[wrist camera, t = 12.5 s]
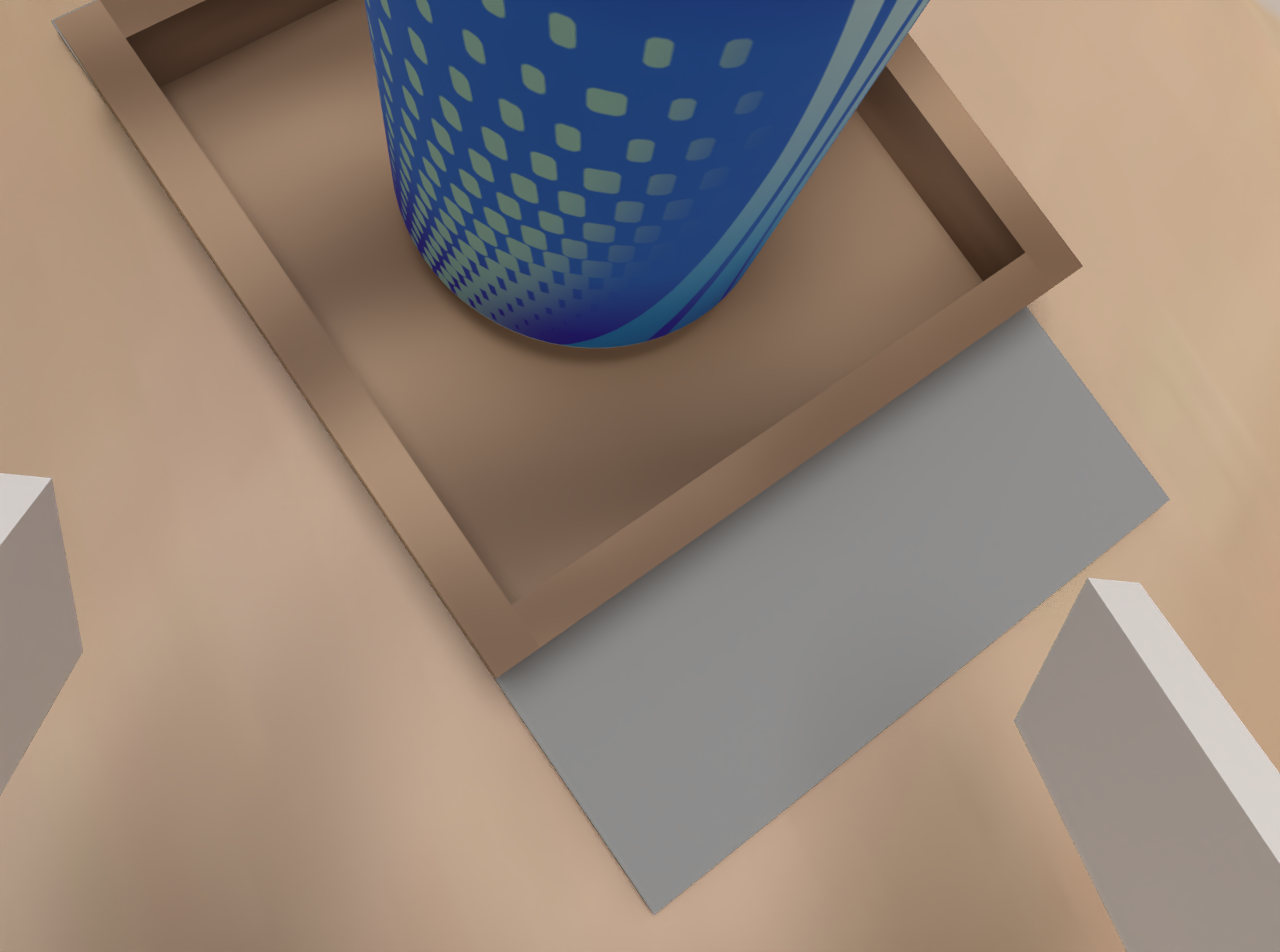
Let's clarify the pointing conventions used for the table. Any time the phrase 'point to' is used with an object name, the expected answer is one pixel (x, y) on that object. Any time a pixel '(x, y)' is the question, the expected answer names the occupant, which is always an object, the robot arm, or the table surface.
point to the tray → (539, 371)
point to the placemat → (827, 604)
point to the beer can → (613, 145)
